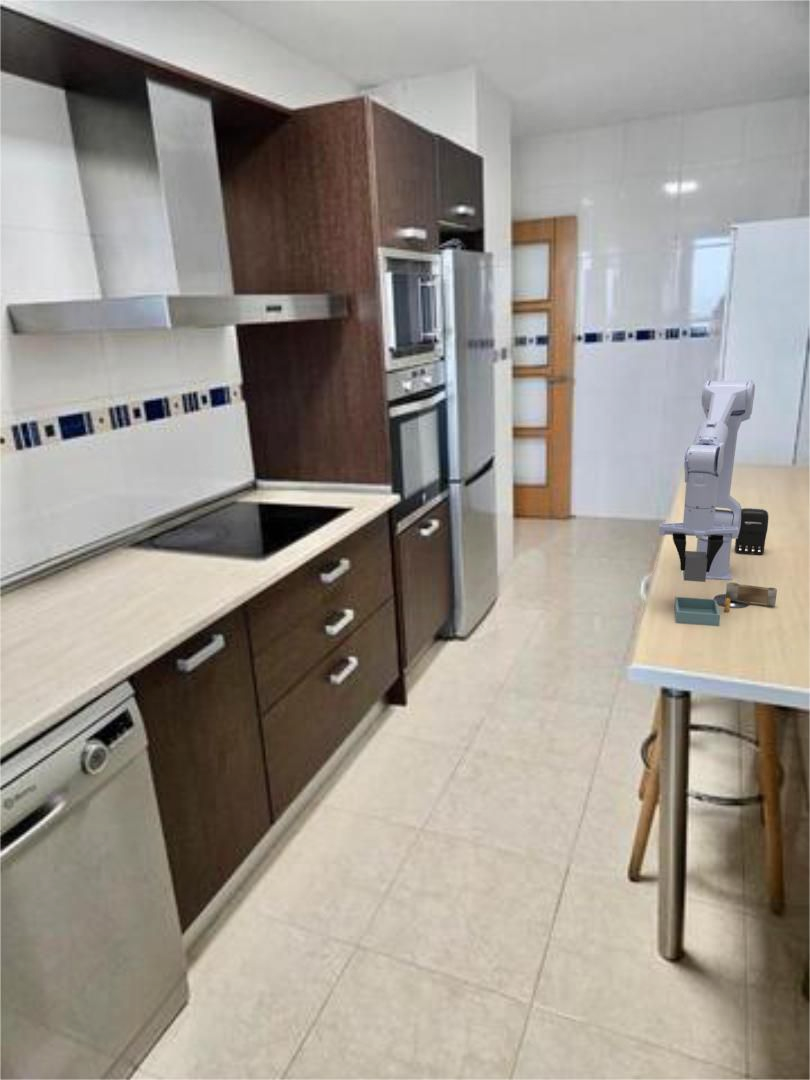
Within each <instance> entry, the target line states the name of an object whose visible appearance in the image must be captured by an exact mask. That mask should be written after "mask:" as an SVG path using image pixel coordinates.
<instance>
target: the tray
mask: <svg viewBox="0 0 810 1080" xmlns="http://www.w3.org/2000/svg"><path fill="white" fill-rule="evenodd" d="M713 599H714V598H713ZM713 599H712V598H711V599H709V598H697V597H682V596H681V597H680V596H675V597H674V614H675V615H674V616H675V623H676V624H684V625H685V624H686V625H698V626H699V625H701V626H713V627H714V626H717V627H719V626H720V619H721V614H720V609H719V605H717V601H716V600H713Z"/></svg>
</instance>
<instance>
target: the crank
mask: <svg viewBox="0 0 810 1080" xmlns="http://www.w3.org/2000/svg"><path fill="white" fill-rule="evenodd" d="M777 593H778V589H777V588H775V587H768V586H756V585H747V584H740V583H737V582H727V583H726V591H725V594H726V598H730V599H731V600H730V601H745V602H750V603H753V604H755V603H756V604H761V605H766V606H775V605H776V602H777Z"/></svg>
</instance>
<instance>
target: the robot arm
mask: <svg viewBox="0 0 810 1080" xmlns="http://www.w3.org/2000/svg"><path fill="white" fill-rule="evenodd" d="M755 386H756V385H755V382H753V379H752V380H710V379H709V380H706V381H705V383H703V386H702V392H701V406H702V409H703V413H704V414H705V417H706V418H707V419H706V420H704V421H703V422H701V423H700V425H699V426H698V427H697V431H696V434H695V437H694V439H693V442H692V445H691V446H687V447H686V449H685V453H684V457H683V459H684V460H683V468H684V469H683V470H684V483H685V495H684V507H683V509H684V510H683V518H682V520H683V521H682V522H674V523H673V522H672V523H659V527H658V528H659V529H658V535H659V536H666V535H669V536H670V535H671V536H672V541H673V543H674V546H675V549H676V551H677V555H678V558H679V563H680V564H679V565H680V567H679V569H680V571H682V572H683V571H684V570H685V551H687V550H686V548H687V537H689V536H691V537H692V536H693V537H695V539H696V552H706V554H707V569H706V580H708V579H709V580H724V581H732V580H733V576H732V574H731V571H730V559H731V553H732V551H731V550H732V541H733V539H734V540H736V539H738V535H739V531H740V525H741V509H742V506H741V503H740V502H738V501H737V500H736V499H735V498H733V497H732V495H731V487H732V479H733V472H734V471H733V470H734V465H735V464H734V463H735V456H736V455H735V454H736V448H737V439H738V431H739V428H740V426H741V425H742V422H745V421H748V420H750V419H751V415H752V413H753V406H754V400H755V391H756V387H755ZM717 508H720V509H717ZM726 509H729V510H726Z"/></svg>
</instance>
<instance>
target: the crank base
mask: <svg viewBox="0 0 810 1080" xmlns="http://www.w3.org/2000/svg"><path fill="white" fill-rule="evenodd" d="M713 600H716V601H717V604H718V606H720V607H723V612H724V613H727V614H728V613H730V609H744V608H748V607H749V606H750V605H751V602H745V601H730V600H731V599H730V598H726V593H723V594H722V593H721V594H718V595H714V597H713Z"/></svg>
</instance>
